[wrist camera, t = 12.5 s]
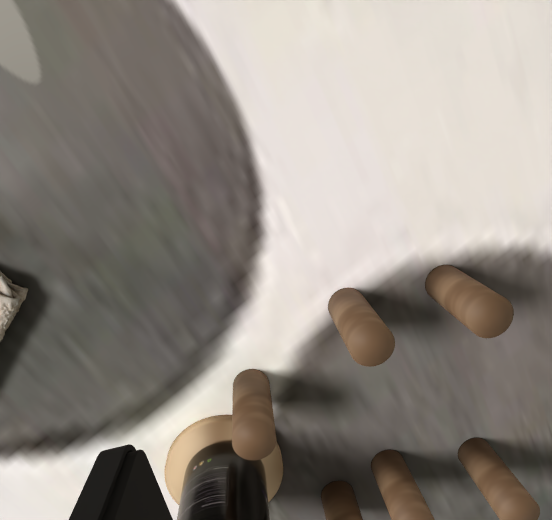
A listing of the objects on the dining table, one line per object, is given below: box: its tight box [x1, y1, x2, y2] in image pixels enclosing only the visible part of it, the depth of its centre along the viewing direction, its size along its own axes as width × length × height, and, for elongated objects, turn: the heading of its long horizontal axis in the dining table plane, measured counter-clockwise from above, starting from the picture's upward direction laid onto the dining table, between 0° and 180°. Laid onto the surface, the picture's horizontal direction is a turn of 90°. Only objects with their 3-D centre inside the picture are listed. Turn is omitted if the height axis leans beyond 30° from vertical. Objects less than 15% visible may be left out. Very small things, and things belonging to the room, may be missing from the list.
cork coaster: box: [165, 415, 283, 505], centre depth 38 cm, size 10×10×1 cm
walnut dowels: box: [232, 265, 540, 520], centre depth 35 cm, size 21×21×7 cm
